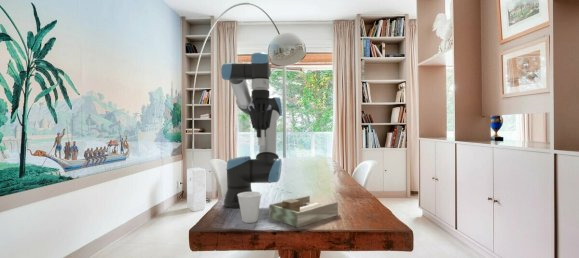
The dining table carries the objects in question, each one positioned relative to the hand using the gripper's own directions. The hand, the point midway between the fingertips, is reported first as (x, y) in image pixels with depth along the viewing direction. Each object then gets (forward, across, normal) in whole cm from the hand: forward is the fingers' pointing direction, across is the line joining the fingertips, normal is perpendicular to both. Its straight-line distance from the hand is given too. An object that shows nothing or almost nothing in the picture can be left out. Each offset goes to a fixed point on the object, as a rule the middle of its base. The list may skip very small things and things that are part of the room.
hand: (261, 145), depth 136 cm
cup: (+31, -8, -2) cm, 32 cm away
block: (+27, +4, -13) cm, 31 cm away
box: (+30, +12, -13) cm, 35 cm away
